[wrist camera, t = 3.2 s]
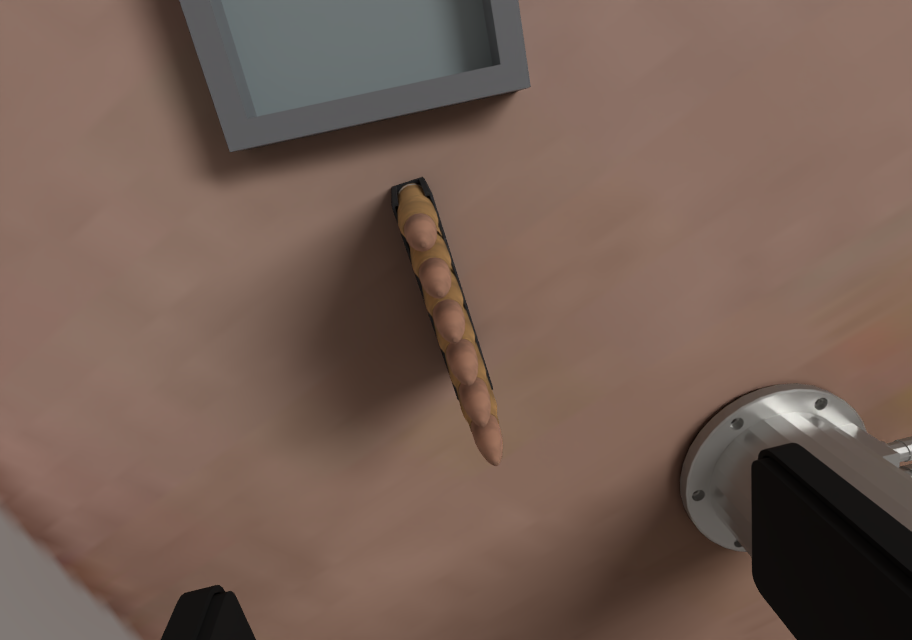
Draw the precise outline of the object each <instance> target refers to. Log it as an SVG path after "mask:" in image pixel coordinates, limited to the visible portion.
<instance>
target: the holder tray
mask: <svg viewBox="0 0 912 640" xmlns="http://www.w3.org/2000/svg"><path fill="white" fill-rule="evenodd" d="M179 1H180V4H181V7H182V10H183V13H184V16H185V19H186V22H187V25H188V28H189V31H190V34H191V37H192V40H193V43H194V46H195V49H196V52H197V55H198V58H199V61H200V64H201V67H202V70H203V73H204V76H205V79H206V82H207V85H208V88H209V91H210V94H211V97H212V100H213V103H214V106H215V109H216V112H217V115H218V118H219V121H220V124H221V127H222V130H223V133H224V136H225V139H226V142H227V145H228V148H229V151H230V152H234V151H241V150H247V149H252V148H256V147H261V146H265V145H270V144H275V143H279V142H284V141H289V140H293V139H298V138H302V137H307V136H312V135H316V134H321V133H326V132H330V131H335V130H339V129H344V128H349V127H353V126H358V125H363V124H367V123H372V122H376V121H381V120H386V119H390V118H395V117H400V116H404V115H409V114H413V113H418V112H423V111H427V110H432V109H437V108H441V107H446V106H450V105H455V104H460V103H464V102H469V101H473V100H478V99H483V98H487V97H492V96H497V95H501V94H506V93H510V92H515V91H519V90H523V89H526V88H529V87H531V86H530V79H529V72H528V65H527V58H526V51H525V44H524V37H523V30H522V23H521V16H520V9H519V2H518V0H179Z"/></svg>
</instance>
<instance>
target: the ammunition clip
mask: <svg viewBox="0 0 912 640" xmlns="http://www.w3.org/2000/svg"><path fill="white" fill-rule="evenodd" d="M391 200H392V209H393V212H394V215H395V218H396V220H397V223H398V226H399V229H400V232H401V235H402V238H403V241H404V244H405V247H406V250H407V253H408V256H409V258H410V261H411V264H412V267H413V270H414V273H415V276H416V279H417V282H418V285H419V288H420V291H421V293H422V296H423V299H424V302H425V305H426V308H427V311H428V314H429V317H430V320H431V323H432V326H433V329H434V331H435V334H436V337H437V340H438V343H439V346H440V349H441V352H442V355H443V358H444V361H445V364H446V366H447V369H448V372H449V375H450V378H451V381H452V384H453V387H454V390H455V393H456V396H457V399H458V400H459V402H460V406H461V410H462V413H463V416H464V418H465V419H466V420H467V422H468V423H469V426H470V429H471V432H472V434H473V437H474V440H475V443H476V445H477V447H478V449H479V451H480V452H481V454H482V455H483V457H484V458H485V459H486V460H487V461H488V462H489V463H490V464H492V465H494V466H497V465H498V464H499V463H500V461H501V458H502V451H503V440H502V434H501V430H500V427H499V421H498V417H497V404H496V401H495V398H494V395H493V392H492V390H493V386H492V383H491V380H490V377H489V374H488V370H487V367H486V364H485V361H484V358H483V354H482V351H481V348H480V345H479V342H478V339H477V335H476V332H475V329H474V326H473V323H472V319H471V316H470V313H469V310H468V307H467V303H466V300H465V297H464V294H463V291H462V287H461V284H460V281H459V278H458V275H457V272H456V268H455V265H454V262H453V259H452V256H451V252H450V249H449V246H448V243H447V240H446V236H445V233H444V230H443V227H442V224H441V220H440V217H439V214H438V211H437V208H436V204H435V201H434V198H433V195H432V192H431V190H430V188H429V186H428V185H427V183H426V181H425V179H424V178H423V177H421V178H418V179H415V180H411V181H408V182H405V183H402V184H399V185H396V186H393V187H392V188H391ZM408 244H409V245H408Z"/></svg>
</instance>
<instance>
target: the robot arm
mask: <svg viewBox="0 0 912 640" xmlns="http://www.w3.org/2000/svg"><path fill="white" fill-rule="evenodd" d="M911 460H912V436H911V437H907V438H903V439H899V440H895V441H894V442H891V443H887V444H886V443H885V442H883V441H879V440H878V439H876V438H875V437H873V436H872V435H870V434H869V433H867V431H866V429H865V426H864V423H863V421H862V419H861V418H860V416H859V415H858V413H857V412H856V411H855V409H853V408H852V407H851V406H850V405H849V404H848V403H847V402H845V401H844V400H843V399H841V398H839V397H838V396H836V395H834V394H832V393H831V392H829V391H827V390H824V389H822V388H819V387H816V386H813V385H806V384H798V383H794V384H779V385H774V386H770V387H766V388H762V389H759V390H756V391H754V392H752V393H749V394H747V395H744V396H742V397H741V398H739V399H737V400H736V401H734V402H732V403H731V404H729V405H727V406H726V407H725V408H724V409H722V410H721V411H720V412H719V413H718V414H716V415H715V416H714V417H713V418H712V419H711V420H710V421H709V422H708V423H707V424H706V425H705V426H704V428H703V429H702V430H701V431H700V432H699V434H698V435H697V437H696V438H695V440H694V442H693V443H692V445H691V446H690V448H689V450H688V453H687V455H686V458H685V460H684V463H683V467H682V472H681V477H680V494H681V498H682V502H683V506H684V508H685V510H686V512H687V514H688V516H689V518H690V519H691V520H692V522H693V523H694V524H695V526H696V527H697V528H698V529H699V531H700V532H701V533H702V534H703V535H705V536H706V537H707V538H708V539H709V540H710V541H712V542H714V543H716V544H718V545H720V546H722V547H724V548H727V549H731V550H734V551H742V552H748V554H749V555H750V556H751V557H752V575H753V579H754V582H755V584H756V587H757V588H758V590H759V592H760V593H761V595H762V596H763V598H764V599H765V600H766V601H767V603H768V604H769V605H770V606H771V608H772V609H773V610H774V611H775V613H776V614H777V615H778V617H779V618H780V619H781V620H782V622H783V623H784V624H785V625H786V627H787V628H788V629H789V630H790V632H791V633H792V634H793V635H794V637H795V638H796V639H797V640H912V464H908V465H904V466H900V467H899V463H900V462H902V461H905V462H907V461H911ZM161 640H256V639H255V637H254V634H253V632H252V630H251V628H250V626H249V624H248V621H247V619H246V617H245V615H244V613H243V611H242V608H241V606H240V604H239V602H238V600H237V598H236V596H235V594H234V593H233V592H232V591H228V592H225V591H224V589H223V588H222V587H221V586H220V585H215V586H211V587H207V588H203V589H199V590H195V591H191V592H187V593H184V594H183V595H182V596H181V597H180V598H179V600H178V602H177V604H176V606H175V609H174V611H173V613H172V615H171V618H170V620H169V622H168V625H167V627H166V629H165V631H164V634H163V636H162V638H161Z"/></svg>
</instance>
